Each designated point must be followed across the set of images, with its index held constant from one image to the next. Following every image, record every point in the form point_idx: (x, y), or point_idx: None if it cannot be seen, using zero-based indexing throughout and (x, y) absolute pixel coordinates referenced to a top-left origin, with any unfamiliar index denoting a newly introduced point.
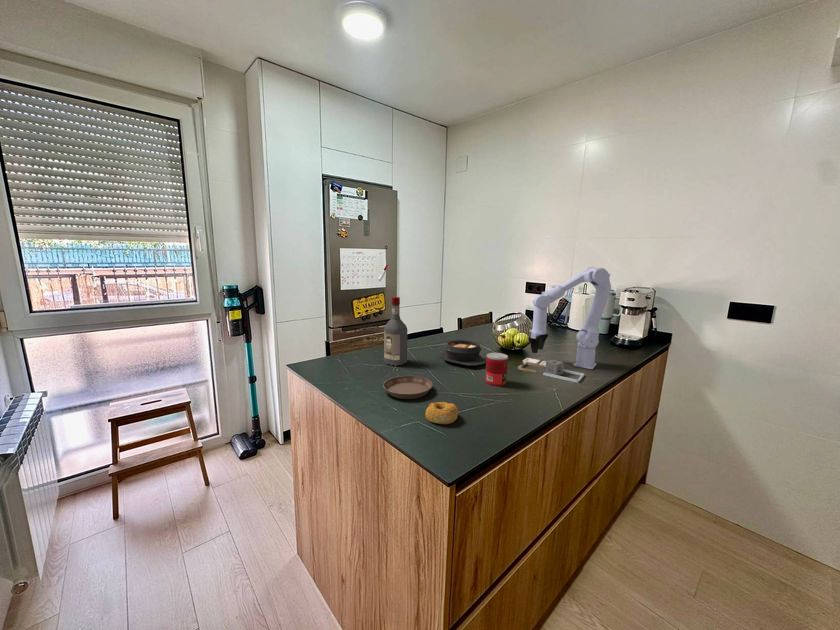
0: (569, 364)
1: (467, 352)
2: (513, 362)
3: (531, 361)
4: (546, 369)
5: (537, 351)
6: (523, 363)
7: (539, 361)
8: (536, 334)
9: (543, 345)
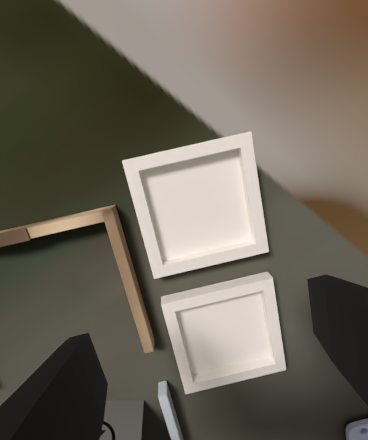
0: None
1: None
2: (40, 102)
3: (203, 204)
4: None
5: (99, 412)
6: (37, 226)
7: (252, 251)
8: None
9: (363, 394)
